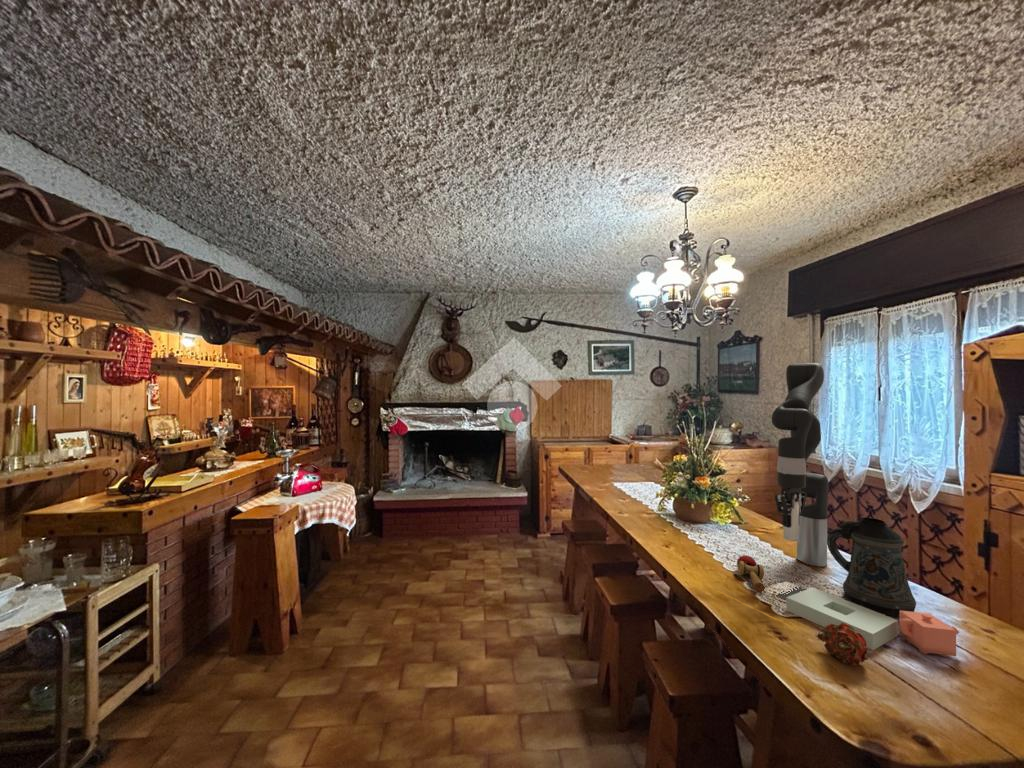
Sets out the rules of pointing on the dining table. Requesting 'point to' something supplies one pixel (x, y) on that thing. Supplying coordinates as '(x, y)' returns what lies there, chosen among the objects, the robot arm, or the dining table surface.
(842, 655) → the dried red rose
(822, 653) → the dining table surface
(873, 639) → the hole block
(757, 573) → the kendama
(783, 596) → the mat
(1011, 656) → the dining table surface
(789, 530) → the peg
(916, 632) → the pink cube teapot
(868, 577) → the beer stein
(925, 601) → the dining table surface
